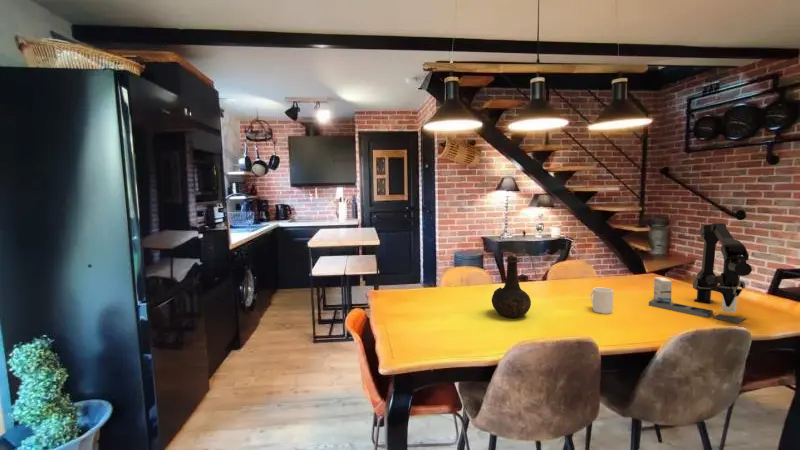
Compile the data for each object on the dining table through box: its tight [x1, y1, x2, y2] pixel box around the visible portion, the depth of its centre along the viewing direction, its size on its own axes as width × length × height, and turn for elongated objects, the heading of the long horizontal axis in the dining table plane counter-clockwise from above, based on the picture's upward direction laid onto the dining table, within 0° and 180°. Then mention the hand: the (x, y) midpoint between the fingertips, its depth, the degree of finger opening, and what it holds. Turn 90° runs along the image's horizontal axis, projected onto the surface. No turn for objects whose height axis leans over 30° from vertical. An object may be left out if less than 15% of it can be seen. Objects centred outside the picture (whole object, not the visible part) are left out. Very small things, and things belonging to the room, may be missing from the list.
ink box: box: [653, 276, 673, 302], centre depth 198 cm, size 9×5×12 cm, turn 168°
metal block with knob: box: [721, 295, 739, 314], centre depth 170 cm, size 4×4×8 cm
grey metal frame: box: [648, 298, 714, 319], centre depth 184 cm, size 7×24×2 cm, turn 36°
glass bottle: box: [491, 255, 532, 319], centre depth 179 cm, size 18×18×28 cm
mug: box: [590, 286, 614, 315], centre depth 185 cm, size 9×12×11 cm
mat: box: [712, 313, 746, 325], centre depth 171 cm, size 9×9×1 cm
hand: (729, 305), depth 170 cm, fingers closed on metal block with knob, 4 cm apart
